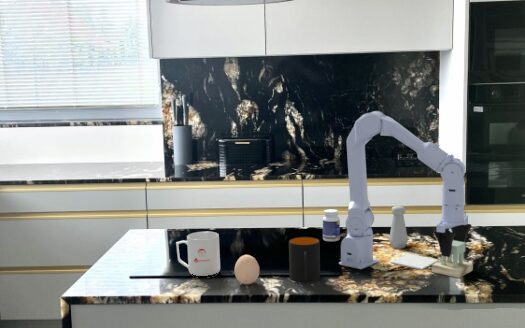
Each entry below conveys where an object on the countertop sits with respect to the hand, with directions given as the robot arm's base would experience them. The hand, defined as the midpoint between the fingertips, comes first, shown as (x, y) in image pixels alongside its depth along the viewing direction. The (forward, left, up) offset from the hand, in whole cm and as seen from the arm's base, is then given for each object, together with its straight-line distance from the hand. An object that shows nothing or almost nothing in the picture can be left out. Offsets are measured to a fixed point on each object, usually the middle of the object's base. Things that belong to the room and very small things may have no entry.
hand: (452, 252), depth 162 cm
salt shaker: (+12, +24, -5) cm, 27 cm away
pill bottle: (+6, +46, -5) cm, 47 cm away
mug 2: (-30, +27, -5) cm, 41 cm away
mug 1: (-45, +54, -5) cm, 70 cm away
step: (0, 0, -5) cm, 5 cm away
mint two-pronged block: (0, 0, -3) cm, 3 cm away
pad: (+1, +12, -5) cm, 13 cm away
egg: (-42, +37, -5) cm, 57 cm away
